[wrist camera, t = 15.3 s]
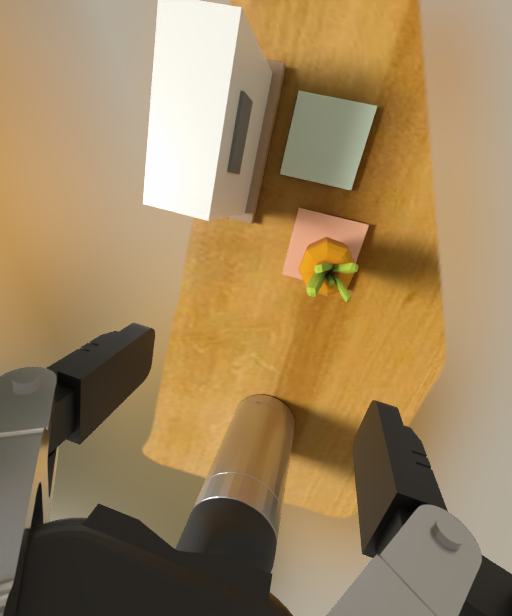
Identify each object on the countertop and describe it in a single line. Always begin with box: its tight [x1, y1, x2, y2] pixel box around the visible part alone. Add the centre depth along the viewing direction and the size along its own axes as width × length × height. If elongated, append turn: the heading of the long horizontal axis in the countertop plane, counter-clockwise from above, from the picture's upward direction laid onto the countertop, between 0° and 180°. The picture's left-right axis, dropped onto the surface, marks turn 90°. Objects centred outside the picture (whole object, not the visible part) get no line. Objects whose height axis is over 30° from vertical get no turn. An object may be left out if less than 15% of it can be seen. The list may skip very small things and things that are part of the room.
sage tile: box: [280, 91, 377, 191], centre depth 33 cm, size 8×8×1 cm
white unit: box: [143, 0, 286, 224], centre depth 30 cm, size 16×8×13 cm, turn 167°
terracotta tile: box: [282, 208, 369, 280], centre depth 37 cm, size 8×8×1 cm
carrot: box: [298, 237, 359, 302], centre depth 30 cm, size 5×5×15 cm
